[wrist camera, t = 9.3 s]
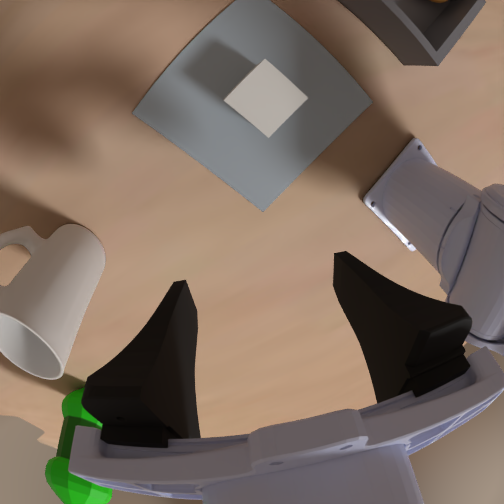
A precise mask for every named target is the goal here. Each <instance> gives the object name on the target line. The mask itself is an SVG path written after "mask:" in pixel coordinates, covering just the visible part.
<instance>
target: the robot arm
mask: <svg viewBox="0 0 504 504" xmlns="http://www.w3.org/2000/svg"><path fill="white" fill-rule="evenodd" d="M418 146H419V149H418ZM372 201H374V202H373V204H372V205H371V202H372ZM363 202H364V204H365V205H367V206H368V207H369V208H370V209H371V210H372V211H373V212H374V213H375V214H376V215H377V216H378V217H379V218H380V219H381V220H382V221H383V222H384V223H385V224H386V225H387V226H388V227H389V228H390V229H391V230H392V231H393V232H394V233H395V234H396V236H397V237H398V238H399V239H400V240H401V241H402V242H403V243H404V244H405V245H406V246H407V247H408V248H409V249H410V250H411V251H414V250H416V249H417V250H418V251H419V252H420V253H421V254H422V255H423V256H424V257H425V258H426V259H427V260H428V261H429V263H430V264H431V265H432V266H433V267H434V268H435V269H436V270H437V271H438V272H439V273H440V275H441V282H440V287H441V288H442V289H443V290H444V291H445V293H446V294H447V298H446V300H445V302H442V301H439V300H435V299H432V298H429V297H426V296H423V295H421V294H418V293H416V292H413V291H411V290H409V289H407V288H405V287H403V286H400V285H398V284H396V283H395V282H393V281H391V280H389V279H388V278H386V277H384V276H383V275H381V274H379V273H378V272H376V271H375V270H373V269H372V268H370V267H369V266H367V265H366V264H364V263H363V262H361V261H360V260H358V259H357V258H356V257H354V256H353V255H351V254H350V253H348V252H347V251H343V252H338V253H334V275H333V287H334V290H335V293H336V295H337V298H338V301H339V303H340V305H341V307H342V309H343V311H344V313H345V315H346V317H347V319H348V321H349V322H350V324H351V326H352V328H353V330H354V332H355V334H356V336H357V338H358V341H359V343H360V346H361V348H362V351H363V354H364V357H365V360H366V363H367V366H368V369H369V373H370V376H371V380H372V383H373V387H374V391H375V396H376V400H377V404H375V405H372V406H369V407H366V408H363V409H359V410H354V409H344V410H339V411H334V412H330V413H327V414H323V415H319V416H315V417H310V418H306V419H301V420H296V421H292V422H286V423H281V424H275V425H271V426H267V427H263V428H259V429H257V430H255V431H253V432H251V433H250V434H244V435H235V436H225V437H212V438H201V436H200V430H199V423H198V414H197V405H196V393H195V357H196V345H197V333H198V319H197V309H196V306H195V304H194V301H193V298H192V295H191V293H190V290H189V287H188V284H187V282H186V280H182V281H176V282H174V283H173V284H172V286H171V287H170V289H169V290H168V292H167V294H166V295H165V297H164V298H163V300H162V302H161V303H160V305H159V306H158V308H157V309H156V311H155V312H154V314H153V315H152V317H151V318H150V319H149V321H148V322H147V324H146V325H145V326H144V327H143V329H142V330H141V331H140V332H139V333H138V335H137V336H136V337H135V338H134V339H133V340H132V341H131V342H130V343H129V344H128V345H127V346H126V347H125V348H124V349H123V350H122V351H121V352H120V353H119V354H118V355H117V356H116V357H114V358H113V359H112V360H111V361H110V362H108V363H107V364H106V365H105V366H103V367H102V368H100V369H99V370H97V371H96V372H95V373H93V374H92V375H90V376H89V377H87V381H86V384H85V388H84V391H83V395H82V399H81V404H82V406H83V408H84V409H85V410H86V411H87V412H88V413H89V414H90V415H92V416H93V417H94V418H95V419H97V420H98V421H99V422H100V423H102V430H100V429H97V428H93V427H86V426H79V425H77V426H76V428H75V432H74V438H73V443H72V448H71V454H70V461H69V467H68V471H69V472H70V473H72V474H74V475H76V476H78V477H80V478H83V479H85V480H87V481H89V482H92V483H94V484H96V485H99V486H102V487H107V488H111V489H117V490H122V491H127V492H133V493H139V494H145V495H153V496H160V497H170V498H180V499H196V500H203V504H424V502H423V498H422V495H421V492H420V489H419V486H418V483H417V480H416V477H415V474H414V471H413V468H412V466H411V463H410V460H409V457H408V455H410V454H412V453H414V452H416V451H418V450H420V449H422V448H424V447H426V446H427V445H429V444H431V443H433V442H435V441H436V440H438V439H440V438H441V437H443V436H445V435H446V434H448V433H450V432H451V431H453V430H455V429H456V428H458V427H459V426H461V425H462V424H464V423H466V422H467V421H468V420H470V419H471V418H473V417H474V416H476V415H477V414H479V413H480V412H482V411H483V410H485V409H486V408H487V407H488V406H489V405H490V404H491V403H492V402H493V401H494V400H495V399H496V398H497V397H498V396H499V395H500V394H501V393H502V391H503V390H504V373H503V371H502V369H501V368H500V366H499V365H498V363H497V362H496V360H495V359H494V357H493V355H492V354H491V352H490V351H489V349H490V350H493V351H496V352H497V353H499V354H501V355H502V356H504V185H502V184H492V185H490V186H488V187H485V188H483V190H482V191H481V190H479V189H477V188H476V187H474V186H472V185H471V184H469V183H467V182H466V181H464V180H462V179H460V178H459V177H457V176H455V175H453V174H451V173H450V172H448V171H446V170H444V169H442V168H440V167H438V166H437V164H436V163H435V161H434V160H433V158H432V157H431V155H430V154H429V152H428V151H427V150H426V148H425V147H424V145H423V144H422V143H421V141H420V140H419V139H417V138H413V139H412V140H411V141H410V142H409V144H408V145H407V146H406V147H405V149H404V150H403V151H402V152H401V153H400V155H399V156H398V157H397V158H396V160H395V161H394V162H393V163H392V164H391V166H390V167H389V168H388V169H387V170H386V172H385V173H384V174H383V175H382V176H381V178H380V179H379V180H378V181H377V182H376V183H375V185H374V186H373V187H372V188H371V189H370V190H369V192H368V193H367V194H366V195H365V196H364V198H363ZM464 341H466V342H468V343H470V344H472V345H474V346H477V347H480V348H481V349H479V350H478V351H476V352H474V353H472V354H471V355H470V356H468V357H467V358H465V356H464V353H465V349H464V347H463V346H462V344H463V343H464Z"/></svg>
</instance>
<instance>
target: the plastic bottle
mask: <svg viewBox="0 0 504 504" xmlns="http://www.w3.org/2000/svg"><path fill="white" fill-rule="evenodd" d="M83 391H84V388H82V389H79V390H75V391H73V392H71V393H70V394H68V395H67V396H66V397H65V398H64V399H63V402H62V413H63V417H64V421H63V425H62V430H61V434H60V439H59V444H58V449H57V455H56V457H54V458H52V459H50V460H49V461H48V463H47V465H46V470H45V476H46V479H47V482H48V484H49V485H50V487H51V488H52V489H53V491H54V492H55V493H56V495H57V496H58V497H59V498H60V499H61V501H62V502H63V503H64V504H106V503H108V502H109V501H110V499H111V497H112V489H111V488H107V487H102V486H99V485H96V484H94V483H92V482H89V481H87V480H85V479H83V478H80V477H78V476H76V475H74V474H72V473H70V472H69V471H68V467H69V461H70V454H71V448H72V443H73V438H74V432H75V428H76V426H77V425H79V426H86V427H93V428H97V429H100V430H102V423H100V422H99V421H98V420H97V419H95V418H94V417H93V416H92V415H90V414H89V413H88V412H87V411H86V410H85V409H84V408H83V406H82V404H81V399H82V395H83Z"/></svg>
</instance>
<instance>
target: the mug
mask: <svg viewBox="0 0 504 504" xmlns="http://www.w3.org/2000/svg"><path fill="white" fill-rule="evenodd" d="M10 244H21V245H23V246H25V247H26V248H27V249H28V251H29V252H30V254H31V258H30V259H29V261H28V262H27V263H26V264H25V265H24V266H23V268H22V269H21V270H20V271H19V273H18V274H17V275H16V276H15V278H14V279H13V280H12V281H11V283H10V284H9V285H7V286H1V285H0V352H1V353H2V354H3V355H4V356H5V357H6V358H8V359H9V360H10V361H11V362H12V363H14V364H15V365H16V366H18V367H19V368H21V369H22V370H24V371H26V372H28V373H30V374H32V375H34V376H37V377H40V378H43V379H50V380H54V379H58V378H60V377H61V376H62V375H63V372H64V368H65V365H66V362H67V360H68V357H69V354H70V351H71V348H72V346H73V343H74V340H75V337H76V335H77V332H78V329H79V327H80V324H81V321H82V319H83V316H84V314H85V311H86V309H87V307H88V304H89V302H90V300H91V297H92V295H93V293H94V291H95V288H96V286H97V284H98V281H99V279H100V277H101V275H102V272H103V270H104V267H105V262H106V257H105V252H104V249H103V246H102V244H101V243H100V241H99V240H98V238H97V237H96V236H95V235H94V234H93V233H92V232H91V231H90V230H88V229H86V228H85V227H83V226H80V225H77V224H66V225H63V226H61V227H59V228H58V229H57V230H56V231H55V232H54V233H53V234H52V235H51V236H50V237H49V238H48V239H43V238H41V237H40V236H39V235H37V234H36V232H35V231H34V230H33V229H32V228H31V227H30V226H24V227H21V228H18V229H14V230H11V231H7V232H4V233H2V234H0V250H1V249H2V248H4V247H6V246H8V245H10Z"/></svg>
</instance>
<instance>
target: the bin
mask: <svg viewBox="0 0 504 504" xmlns="http://www.w3.org/2000/svg"><path fill="white" fill-rule="evenodd" d="M338 1H339V2H340V3H342V4H343V5H344V6H345V7H346V8H348V9H349V10H350V11H351V12H352V13H353V14H354V15H356V16H357V17H358V18H359V19H360V20H361V21H362V22H363V23H364V24H365V25H366V26H367V27H369V28H370V29H371V30H372V31H373V32H374V33H375V34H376V35H377V36H378V37H379V38H380V39H381V40H382V42H383V43H384V44H385V45H386V46H387V47H388V48H389V49H390V50H391V51H392V52H393V53H394V54H395V56H396V57H397V58H398V59H399V60H400V61H401V62H402V64H403V65H421V66H439V64H440V63H441V62H442V60H443V59H444V58H445V57H446V55H447V54H448V53H449V51H450V50H451V49H452V47H453V46H454V45H455V44H456V42H457V41H458V40H459V38H460V37H461V36H462V34H463V33H464V32H465V30H466V29H467V28H468V26H469V25H470V24H471V22H472V21H473V20H474V18H475V17H476V16H477V14H478V13H479V11H480V10H481V9H482V7H483V6H484V5H485V3H486V1H485V0H448V1H446V2H443V3H435V2H432V1H430V0H338Z"/></svg>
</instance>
